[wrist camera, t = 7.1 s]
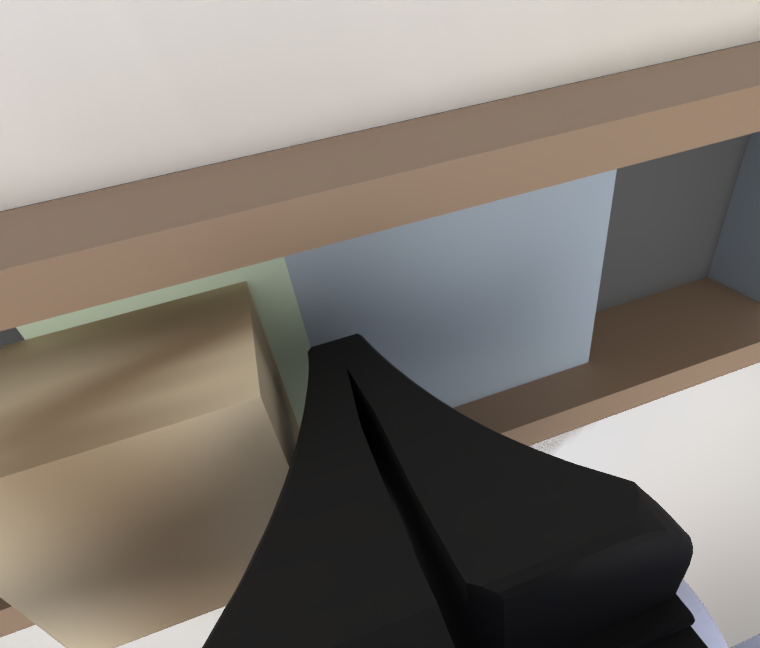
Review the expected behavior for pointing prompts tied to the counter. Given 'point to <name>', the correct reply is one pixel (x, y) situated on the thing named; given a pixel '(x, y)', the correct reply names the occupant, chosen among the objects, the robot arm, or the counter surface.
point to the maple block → (139, 466)
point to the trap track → (454, 247)
